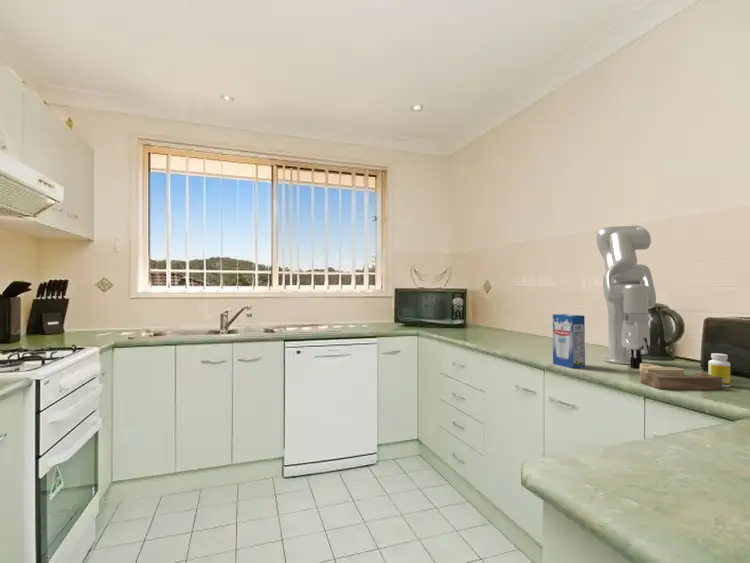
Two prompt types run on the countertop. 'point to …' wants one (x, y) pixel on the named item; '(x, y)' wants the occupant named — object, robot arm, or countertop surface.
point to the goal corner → (682, 381)
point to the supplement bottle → (720, 368)
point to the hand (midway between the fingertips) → (636, 368)
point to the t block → (661, 370)
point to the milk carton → (569, 340)
